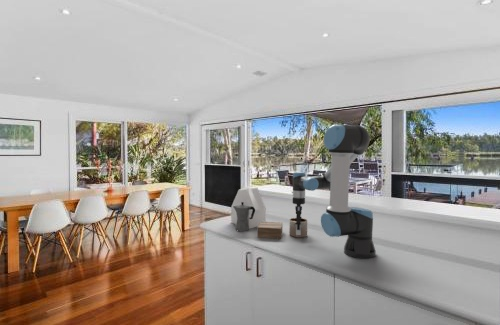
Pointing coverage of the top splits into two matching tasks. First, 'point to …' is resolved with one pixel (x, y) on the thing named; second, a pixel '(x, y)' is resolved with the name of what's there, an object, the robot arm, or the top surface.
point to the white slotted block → (253, 200)
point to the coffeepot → (243, 216)
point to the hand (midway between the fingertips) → (298, 231)
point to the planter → (293, 227)
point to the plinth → (270, 230)
